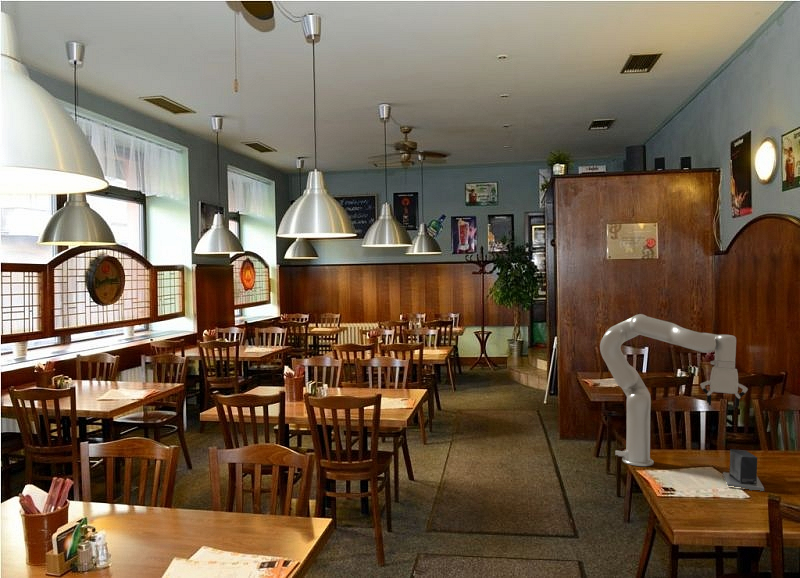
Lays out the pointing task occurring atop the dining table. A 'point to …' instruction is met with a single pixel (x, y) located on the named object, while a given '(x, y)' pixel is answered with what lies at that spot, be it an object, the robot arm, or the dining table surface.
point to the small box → (743, 466)
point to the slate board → (735, 483)
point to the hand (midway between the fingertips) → (722, 406)
